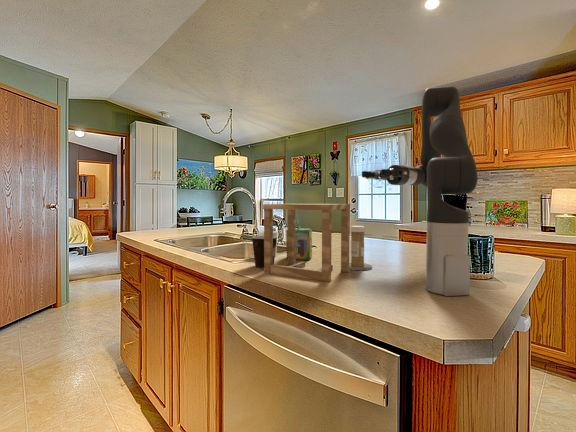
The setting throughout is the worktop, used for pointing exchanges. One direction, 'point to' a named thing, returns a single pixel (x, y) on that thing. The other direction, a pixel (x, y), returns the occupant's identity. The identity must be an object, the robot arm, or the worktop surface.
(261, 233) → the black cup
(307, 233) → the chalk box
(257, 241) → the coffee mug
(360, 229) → the sprinkles bottle
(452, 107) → the robot arm
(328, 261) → the oak shelf
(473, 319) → the worktop surface
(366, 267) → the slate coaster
